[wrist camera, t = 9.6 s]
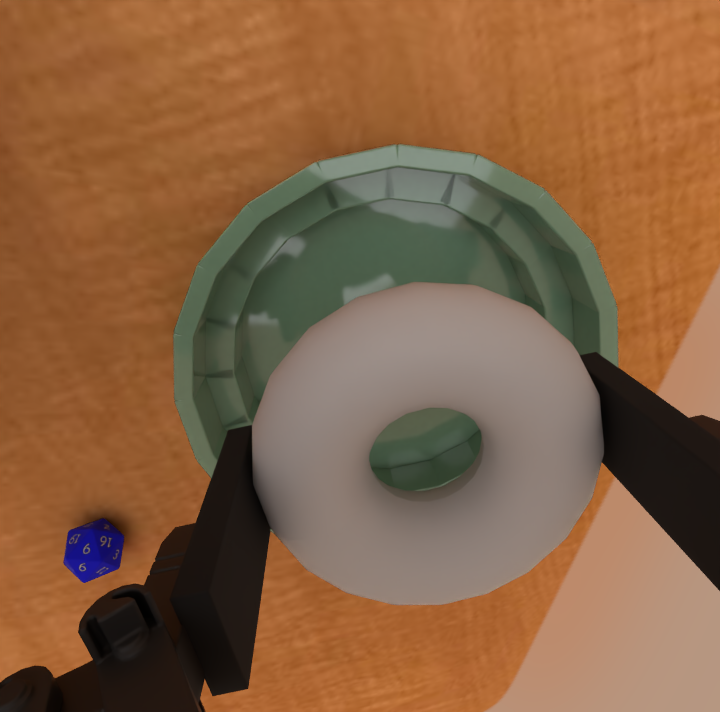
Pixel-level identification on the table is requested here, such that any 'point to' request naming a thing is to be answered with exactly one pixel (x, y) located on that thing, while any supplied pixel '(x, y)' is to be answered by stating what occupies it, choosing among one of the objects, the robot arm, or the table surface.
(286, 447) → the donut
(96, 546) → the die
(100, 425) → the table surface
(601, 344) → the green ribbed bowl
